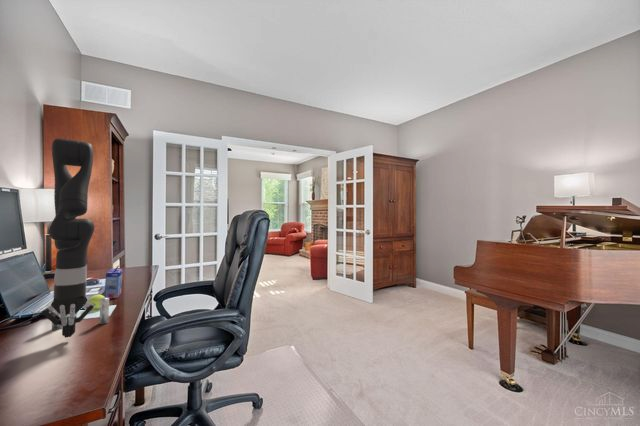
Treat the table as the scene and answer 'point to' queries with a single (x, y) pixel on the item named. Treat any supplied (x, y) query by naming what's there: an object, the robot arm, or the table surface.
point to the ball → (96, 301)
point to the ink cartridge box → (113, 283)
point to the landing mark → (95, 312)
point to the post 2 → (104, 310)
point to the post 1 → (56, 327)
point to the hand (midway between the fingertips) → (68, 336)
